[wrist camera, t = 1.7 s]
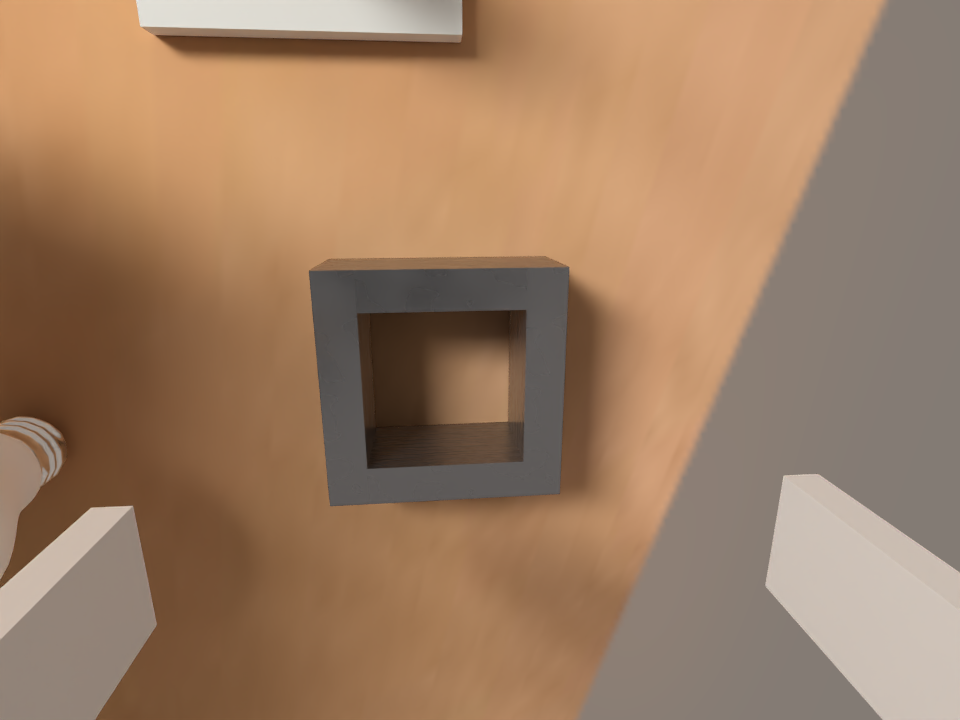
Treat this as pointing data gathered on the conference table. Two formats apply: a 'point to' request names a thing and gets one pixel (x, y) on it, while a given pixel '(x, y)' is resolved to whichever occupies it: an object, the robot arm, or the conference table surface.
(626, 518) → the conference table surface
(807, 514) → the robot arm
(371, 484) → the grey square frame
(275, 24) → the keeper
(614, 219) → the conference table surface
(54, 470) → the light bulb
